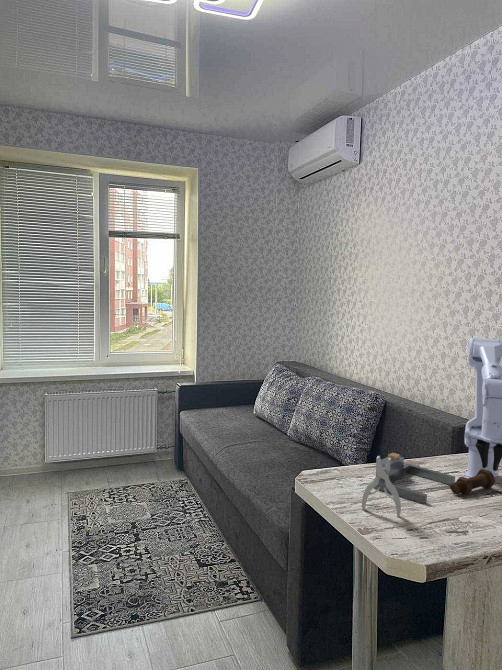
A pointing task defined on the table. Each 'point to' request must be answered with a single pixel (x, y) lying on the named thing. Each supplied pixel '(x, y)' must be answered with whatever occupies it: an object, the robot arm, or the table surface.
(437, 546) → the table surface
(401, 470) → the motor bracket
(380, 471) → the pliers
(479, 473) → the bolt
